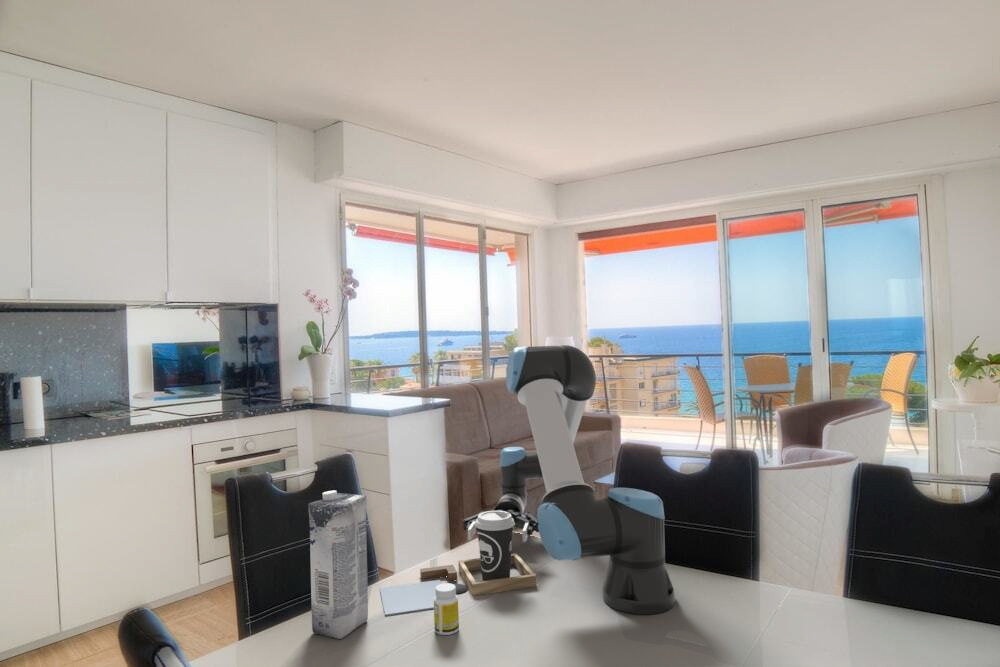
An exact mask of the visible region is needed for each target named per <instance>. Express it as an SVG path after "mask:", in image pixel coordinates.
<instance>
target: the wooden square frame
mask: <svg viewBox="0 0 1000 667" xmlns="http://www.w3.org/2000/svg"><path fill="white" fill-rule="evenodd" d="M511 565H512V566H514V565H515V566H516V567H517V568H516V567H515V566H514V567H515V568H516V569H517V571H518V572H519V571H520V572H521V573H520V572H519V573H520V574H521V575H517V576H510V577H509V578H502V579H495V580H488V581H483V580H482V581H476V580H475V578H474V577H473V575H472V573H471V571H469V570H475V571H478V570H477V569H481V559H480V557H478V558H472V559H471V558H469V559H463V560H458V573H459V574H460V573H461V574H460V576H461V575H462V576H461V578H462V577H463V578H462V580H463V581H464V583H465V585H466V586H467V587H468V591H469V592H470V594H471V595H472V597H473V596H480V595H488V594H494V593H502V592H509V591H516V590H521V589H529V588H535V587H537V574H535V572H534V571H533V570H532V569H531V568H530V567H529V565H528V564H526V562H525V561H524V560H523V558H522V557H520V555H519V554H518V553H511Z"/></svg>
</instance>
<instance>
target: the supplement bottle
mask: <svg viewBox="0 0 1000 667" xmlns="http://www.w3.org/2000/svg"><path fill="white" fill-rule="evenodd" d="M435 594H436V596H435V598H434V609H433V618H434V631H435V633H436V634H438V635H441V636H449V635H453V634H455V633H457V632H458V631H459V629H460V626H459V625H460V621H459V617H460V616H459V598H458V594H456V586H455V585H454V584H453V583H451V582H447V583H445V582H444V583H442V584H440V585H438V586H436V588H435Z"/></svg>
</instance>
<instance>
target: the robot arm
mask: <svg viewBox="0 0 1000 667" xmlns="http://www.w3.org/2000/svg"><path fill="white" fill-rule="evenodd" d="M505 372H506V373H505V381H506V382H505V384H506V389H507V391H508V393H510V394H513V395H514V394H516V398H517V400H518V402H519V404H521V405H522V406H525V407H526V413H527V417H528V420H529V425H530V430H531V434H532V438H533V440H534V445H535V450H536V452H529V453H526V449H525V447H521V446H510V447H509V446H507V447H504V448H502V449H501V451H500V457H499V467H500V468H499V469H500V499H499V500H498V502H497V504H496V506H495V507H494V510H493V511H505V512H509V513H510V514H511V516H512V518H513V519H514V522H515V525H514V526H513V528H519V529H521V530H522V531H521V532H522V543H526V542H527V540H528V537H529V536H532V535H533V534H534V532H536V533H539V537H540V540H541V543H542V545H543V546H544V549H545V551H546V553H547V554H548V555H550V557H551V558H553V559H554V560H556V561H578V560H581V559H590V558H599V557H605V556H609V564H608V568H607V571H606V574H605V576H604V577H605V578H604V580H603V585H602V599H603V601H604V603H605V604H607V605H608V606H610V607H611V608H612V609H615V610H618V611H621V612H624V613H628V614H633V615H634V614H635V615H655V614H660V613H664V612H667V611H669V610H670V609H672V608H673V606H674V605H675V603H676V602H675V589H674V586H673V583H672V581H671V577H670V575H669V572H668V569H667V566H666V549H665V548H666V545H665V540H666V539H665V519H666V517H665V510H664V502H663V500H662V499H661V498H660V496H658V495H657V494H655V493H653V492H650V491H646V490H643V489H637V488H630V487H613V488H609V490H608V491H607V497H603V498H602V497H601V498H597V497H596V494H595V490H594V488H593V487H592V485H590V484H588V483H586V482H585V481H584V478H583V473H582V470H581V467H580V464H579V460H578V457H577V453H576V449H575V446H574V445H575V444H574V442H575V439H576V436H577V432H578V430H579V427H580V424H581V420H582V418H583V414H584V412H585V408H586V405H587V402H588V401H589V400H590V399H591V398H592V397H593V395H594V392H595V390H596V383H597V376H596V371H595V367H594V365H593V362H592V361H591V359H590V357H588V355H587V354H586V353H585V352H584V351H583V350H581V349H580V348H577V347H575V346H572V345H566V344H565V345H562V344H561V345H542V346H541V345H538V346H528V345H526V346H517V347H514V348H513V349H511V350H510V352H509V354H508V357H507V361H506V371H505ZM534 479H535V480H537V479H543V482H544V487H545V491H546V492H545V494H544V495H543V497H542V498H541V504H540V505H539V507H538V509H537V510H536V512H537V513H536V517H535V516H534V515H532V512H530V511H527V512H526V513H524V511H525V509H526V507H527V505H528V502H529V496H528V491H527V480H534ZM483 512H486V511H485V510H482V511H480V512H479V513H477V514H475V515H472V516H470V517H469V516H468V517H467V518H464V519H462V530H463V531H466V534H467V541H471V540H472V539H473V538H474V537H475V535H476V533H477V527H476V526H475V522H476V519H477V518H478V515H479V514H480V513H483ZM671 607H672V608H671ZM668 609H669V610H668ZM666 610H667V611H666Z"/></svg>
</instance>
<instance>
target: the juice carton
mask: <svg viewBox="0 0 1000 667" xmlns="http://www.w3.org/2000/svg"><path fill="white" fill-rule="evenodd" d="M337 491H338V490H328V491H324V492H322V499H320V500H315V501H313V502H312V501H311V502H310V503H309V502H308V504H307V509H308V517H309V546H310V548H309V551H310V556H309V557H310V590H311V591H310V596H311V601H310V602H311V629H312V630H311V631H312V633H313V634H315V635H319V634H320V635H321V636H324V635H325V636H326V637H330V638H333V637H334V638H333V639H337V640H338V639H339V640H341V639H344V638H345V637H346V636H347V635H349V634H351V633H352V632H353V631H354V630H356V629H357V628H359V627H360V626H361V625H363V624H365V622H367V621H368V619H369V618H368V617H369V600H368V599H369V598H368V596H369V595H368V594H369V592H368V590H369V589H368V587H369V586H368V555H367V554H368V549H367V548H368V547H367V544H368V543H367V495H363V494H362V495H361V494H354V493H353V494H352V493H344V492H343V493H341V492H337Z"/></svg>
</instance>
